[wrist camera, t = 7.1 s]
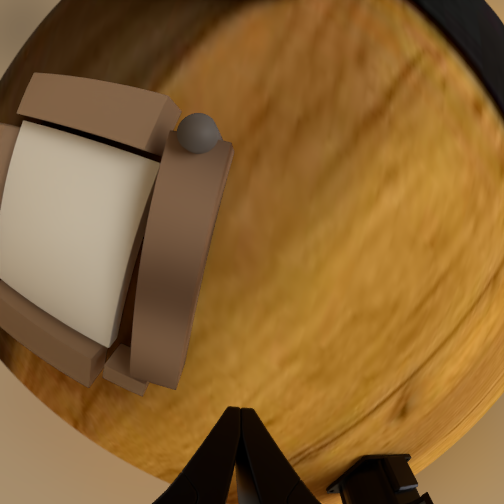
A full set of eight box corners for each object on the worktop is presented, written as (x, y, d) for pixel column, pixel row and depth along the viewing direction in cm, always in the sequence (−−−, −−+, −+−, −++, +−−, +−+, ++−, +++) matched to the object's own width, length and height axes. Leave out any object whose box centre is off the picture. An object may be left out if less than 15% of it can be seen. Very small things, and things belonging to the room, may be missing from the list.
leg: (189, 128, 12) (170, 108, 8) (238, 138, 12) (235, 120, 9) (145, 348, 14) (125, 383, 11) (185, 360, 14) (172, 399, 11)
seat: (149, 387, 15) (138, 412, 12) (-13, 286, 13) (-33, 295, 11) (243, 133, 12) (242, 120, 10) (29, 80, 10) (8, 71, 8)
